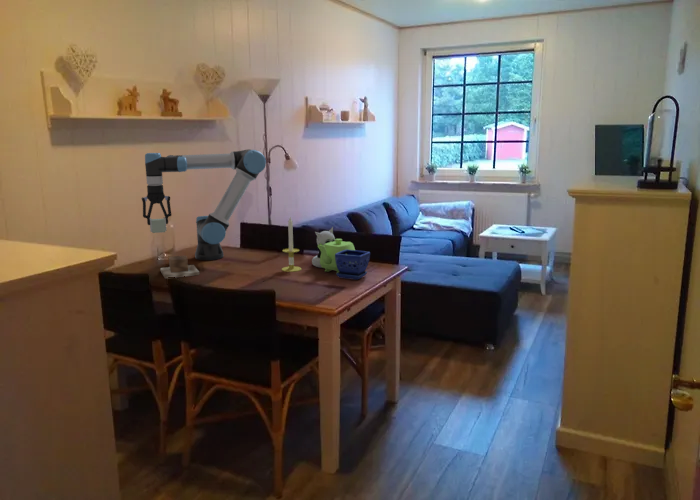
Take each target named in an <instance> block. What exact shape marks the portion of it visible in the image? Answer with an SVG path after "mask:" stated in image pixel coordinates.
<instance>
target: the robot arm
mask: <svg viewBox="0 0 700 500" xmlns="http://www.w3.org/2000/svg"><path fill="white" fill-rule="evenodd" d="M266 164H267V160H266V156H265V155H264V154H263V153H262V152H261V151H259V150H257V149H244V150H243V149H242V150H236V151H230V153H207V154H184V155H183V154H182V155H179V154H178V155H176V154H175V155H174V154H173V155H172V154H169V155H167V156H162V155H161V152H146V153H145V155H144V167H145V177H146V179H145V180H146V184H147V186H146V189H147V194H146V196H144V197H141V202H142V218H144V219H146V220H147V221H146V222H147V225H148V226H149V229H150V230H149V231H150V233H152V219H153V218H152V217H151V214H152V210H153V207H154V204H155V205H156V204H159V206H160V208H161V210H162V213H163V215H164V216H163V218H162V219H164V220H165V232H167V225H168V224H169V217H172V209H171V197H170V196H169V195H168V196H167V195H165V193H164V185H163V183H164V182H163V181H164V179H163V178H164V177H163V173H182V172H187V170H205V169H206V170H209V169H210V170H213V169H231V170H233V171H234V170H235V171H236V174H235V175H234V176H233V178H232V180H231V181H230V183H229V184H228V187H227V188H226V191H225V192H224V194H223V196H222V197H221V199H220V201H219V202H218V204H217V206H216V207H215V209H214V210H213V212H211V213H209V214H208V215H202V216H196V219H195V220H196V221H195V223H196V235H197V236H196V240H197V246H196V249H195V253H194V256H195V259H196V260H199V261H215V260H220V259H223V258H224V250H223V249H222V246H221V243H222V241H224V239H225V238H226V231H227V230H228V228H229V226H230V222H229V220H230V219H231V217H232V215H233V213H234V212H235V210H236V208H237V206H238V204H239V203H240V202H241V200H242V199H243V198H242V197H243V196H244V194H245V193H246V190H247V189H248V187H249V185H250V184H251V182H252V181H256V179H257V177H258V176H259V174H260V173H262V172H263V171H264V169H265V168H266V166H267V165H266ZM164 199H165V201H166V206H167V210H166V209H165V206H164V204H163V200H164ZM147 200H148V201H149V202H150V203H149V208H148V211H147V203H146V202H147Z"/></svg>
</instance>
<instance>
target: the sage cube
mask: <svg viewBox="0 0 700 500" xmlns="http://www.w3.org/2000/svg"><path fill="white" fill-rule="evenodd" d="M151 219H152V232H151V233H152V234H159V233H166V231H165V220H164V218H151Z"/></svg>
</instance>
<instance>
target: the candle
mask: <svg viewBox="0 0 700 500" xmlns="http://www.w3.org/2000/svg"><path fill="white" fill-rule="evenodd" d="M287 222H288V229H287V230H288V232H287V233H288V248H283V249H282V252H283V253H286V254H288V266H283V267H281V271H282V272H286V273H287V272H288V273H294V272H300V271H302V268H301V267H300V266H295V263H294V262H295V254H294V253H298V252H300V249H299V248H294V234H293V233H294V232H293V230H294V229H293V226H294V225H293V220H292V217H291V216H289V218H288V221H287Z"/></svg>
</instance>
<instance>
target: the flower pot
mask: <svg viewBox="0 0 700 500" xmlns="http://www.w3.org/2000/svg"><path fill="white" fill-rule="evenodd" d="M346 253H347V255H346ZM370 259H371V252H370V251H365V250H358V249H357V250H356V249H355V250H343V251H341V252H338V253H336V254H335V261H336V265H337V268H338V270H339V272H338V273H337V274H336V276H337V277H338V278H340V279H348V280H356V281H357V280H359V279H361V278H363V277H366V275H367V274H368V271H366V270H367V268H368V265H369V263H370ZM349 262H351V263H349ZM345 263H346V264H345Z"/></svg>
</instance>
